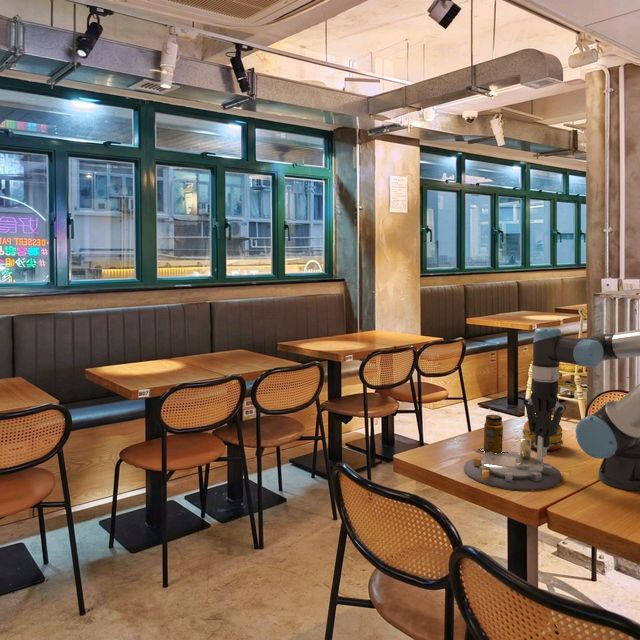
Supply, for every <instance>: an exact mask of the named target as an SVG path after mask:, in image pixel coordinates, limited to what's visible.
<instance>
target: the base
mask: <svg viewBox="0 0 640 640" xmlns="http://www.w3.org/2000/svg"><path fill="white" fill-rule="evenodd" d="M484 456H485V455H484ZM484 456H477V458H483V457H484ZM473 460H474V457H472V458H471V459H469V460H467V461H465V463H464V465H463V471H464V473H465V475H466V476H467V477H469V478H470V479H471V480H474V481H476V482H477V483H480V484H483V485H486V486H489V487H494V488H498V489H502V490H503V489H505V490H513V491H540V490H547V488H548V489H551V488H554V487H556V486H558V485H559V484H560V483H561V482H562V478H563V477H562V473H561V471H560V470H559V469H557V467H555V466H553V465H551V464H549V463H547V462H544V461H543V465H547V466H552V472H551V475H549V474H543V475H542V476H541V481H537V482H535V481H533V480H531V479H526V480H517V479H513V481H512V482H510V481H505V478H501V477H497V476H494V475H491V474H489V470H482V474H480V473H479V468H480V466H473ZM560 481H561V482H560ZM557 484H558V485H557Z"/></svg>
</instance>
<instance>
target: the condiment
mask: <svg viewBox="0 0 640 640" xmlns="http://www.w3.org/2000/svg"><path fill="white" fill-rule="evenodd" d="M483 425H484V429H483V430H484V431H483V433H484V435H483V447H480V448H477V449H474V451H475V452H476V453H477V452H478V453H480V454H483V455H485V453H483V452H484V451H485V452H493V453H501V452H502V450H503V439H504V438H503V437H504V431H503V430H504V425H503V417H502V416H501V415H499V414H487V415H485V423H484V424H483ZM480 449H481V450H482V449H484V451H481V450H480ZM505 451H506V452H505V453H508V451H507V450H505Z"/></svg>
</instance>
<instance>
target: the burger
mask: <svg viewBox="0 0 640 640" xmlns="http://www.w3.org/2000/svg"><path fill="white" fill-rule="evenodd" d="M551 423H552V419H551ZM521 432H522V433H523V436H522V438H530V439H531V449H533V450H537V446H538V445H536V444H535V439H536V435H535V433H534V432H531V431H530V429H529V423H528V420H527V421H525V423H524V425H523V429H522V431H521ZM542 435H543V434H542ZM562 438H563V428H562V426H561V425H560V424H559V427H558V430H557V434H556V435H554V436H551V437H550V443H549V447H547V451H554V450H558V449H559V448H561V446H562V445H563V444H564V440H563V439H562Z"/></svg>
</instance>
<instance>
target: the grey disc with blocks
mask: <svg viewBox="0 0 640 640" xmlns="http://www.w3.org/2000/svg"><path fill="white" fill-rule="evenodd" d="M519 451H520V453H519V452H518V451H510V453H508V452H505V453H497V454H495V453H493V452H485V454H484V457H483V458H477V457H478V456H477V457H475V456H474V457H473V458H474V460H473V466H480V468H479V473H480V474H482V470H489V474H491V475H494V476H497V477H501V478H505V481H510V482H512V481H513V479H517V480H526V479H531V480H533V481H535V482H537V481H541V476H542V475H543V474H549V475H551V472H552V466H553V465H551V466H547V465H543V462H544V458H538V457H537V456H536V457H532V456H531V453H532V448H531V439H530V438H523V437H521V438H520V449H519Z"/></svg>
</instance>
